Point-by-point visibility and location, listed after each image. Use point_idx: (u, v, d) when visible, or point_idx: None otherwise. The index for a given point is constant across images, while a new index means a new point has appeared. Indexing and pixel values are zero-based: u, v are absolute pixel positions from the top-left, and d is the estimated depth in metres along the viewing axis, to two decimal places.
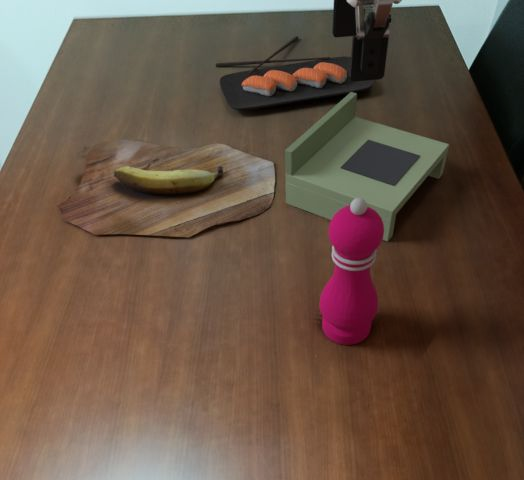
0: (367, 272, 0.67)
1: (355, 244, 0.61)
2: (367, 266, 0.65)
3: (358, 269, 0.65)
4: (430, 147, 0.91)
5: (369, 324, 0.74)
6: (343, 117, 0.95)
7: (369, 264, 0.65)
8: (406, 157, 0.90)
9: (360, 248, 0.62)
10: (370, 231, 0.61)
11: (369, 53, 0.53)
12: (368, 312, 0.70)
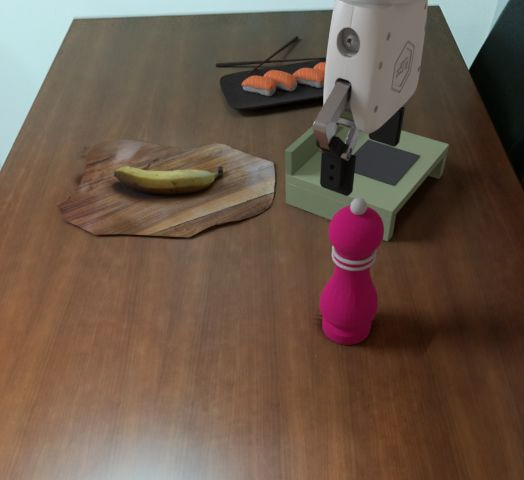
0: (367, 272, 0.67)
1: (355, 244, 0.61)
2: (367, 266, 0.65)
3: (358, 269, 0.65)
4: (430, 147, 0.91)
5: (369, 324, 0.74)
6: None
7: (369, 264, 0.65)
8: (406, 157, 0.90)
9: (360, 248, 0.62)
10: (370, 231, 0.61)
11: (331, 168, 0.52)
12: (368, 312, 0.70)
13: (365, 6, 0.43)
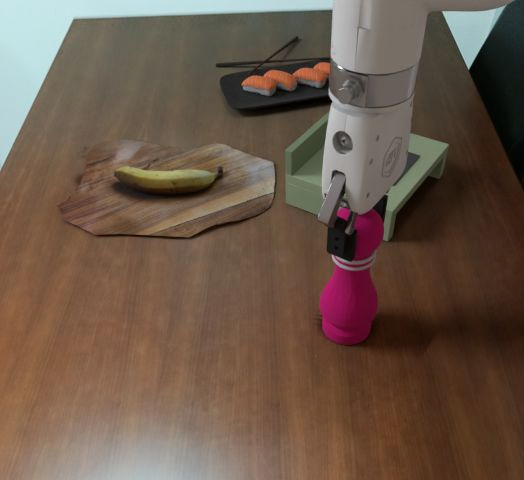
0: (367, 272, 0.67)
1: None
2: (367, 266, 0.65)
3: (358, 269, 0.65)
4: (430, 147, 0.91)
5: (369, 324, 0.74)
6: None
7: (369, 264, 0.65)
8: None
9: (360, 248, 0.62)
10: (370, 230, 0.61)
11: (336, 240, 0.60)
12: (368, 312, 0.70)
13: (357, 115, 0.49)
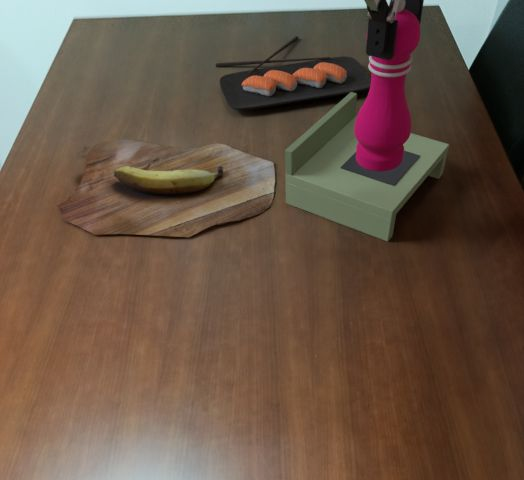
0: (403, 84, 0.69)
1: None
2: (404, 72, 0.67)
3: (395, 75, 0.67)
4: (430, 147, 0.91)
5: (402, 150, 0.76)
6: (343, 117, 0.95)
7: (405, 70, 0.68)
8: (406, 157, 0.90)
9: (399, 45, 0.64)
10: (408, 26, 0.63)
11: (377, 33, 0.63)
12: (403, 129, 0.72)
13: None
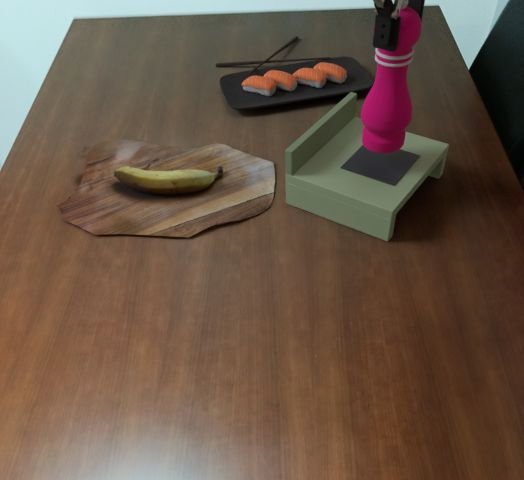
0: (405, 73, 0.78)
1: None
2: (406, 63, 0.76)
3: (398, 65, 0.76)
4: (430, 147, 0.91)
5: (403, 134, 0.85)
6: (343, 117, 0.95)
7: (407, 61, 0.76)
8: (406, 157, 0.90)
9: (401, 39, 0.73)
10: (411, 22, 0.72)
11: (382, 28, 0.71)
12: (405, 115, 0.81)
13: None
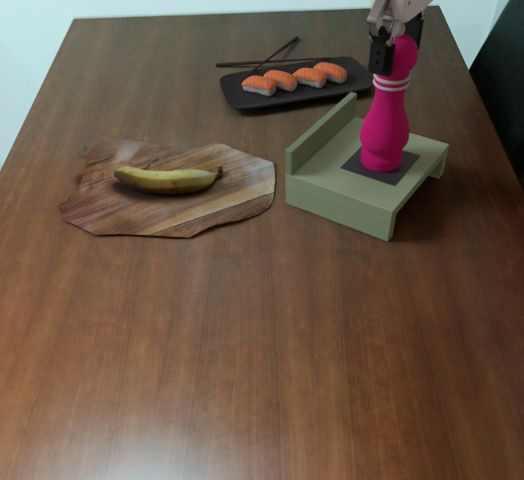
0: (402, 97, 0.80)
1: (395, 61, 0.75)
2: (403, 87, 0.78)
3: (396, 89, 0.78)
4: (430, 147, 0.91)
5: (401, 154, 0.87)
6: (343, 117, 0.95)
7: (405, 86, 0.78)
8: (406, 157, 0.90)
9: (399, 65, 0.75)
10: (407, 49, 0.74)
11: (377, 54, 0.73)
12: (402, 136, 0.83)
13: None
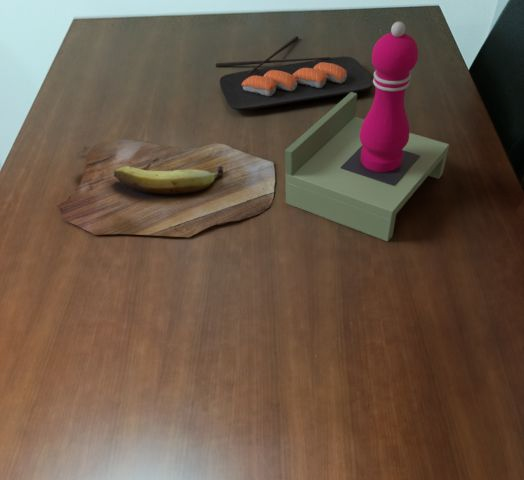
0: (402, 97, 0.80)
1: (395, 61, 0.75)
2: (403, 87, 0.78)
3: (396, 89, 0.78)
4: (430, 147, 0.91)
5: (401, 154, 0.87)
6: (343, 117, 0.95)
7: (405, 86, 0.78)
8: (406, 157, 0.90)
9: (399, 65, 0.75)
10: (407, 49, 0.74)
11: None
12: (402, 136, 0.83)
13: None
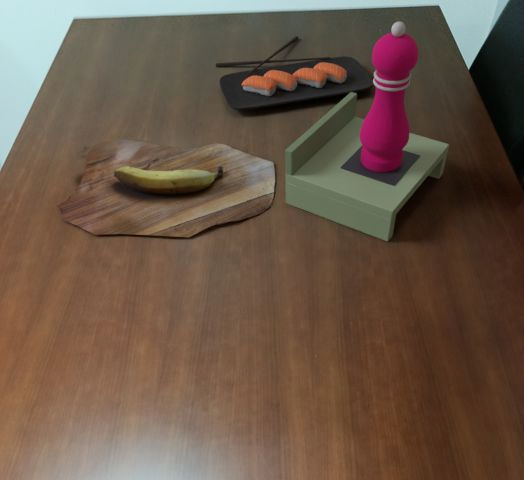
0: (402, 97, 0.80)
1: (395, 61, 0.75)
2: (403, 87, 0.78)
3: (396, 89, 0.78)
4: (430, 147, 0.91)
5: (401, 154, 0.87)
6: (343, 117, 0.95)
7: (405, 86, 0.78)
8: (406, 157, 0.90)
9: (399, 65, 0.75)
10: (408, 49, 0.74)
11: None
12: (402, 136, 0.83)
13: None
